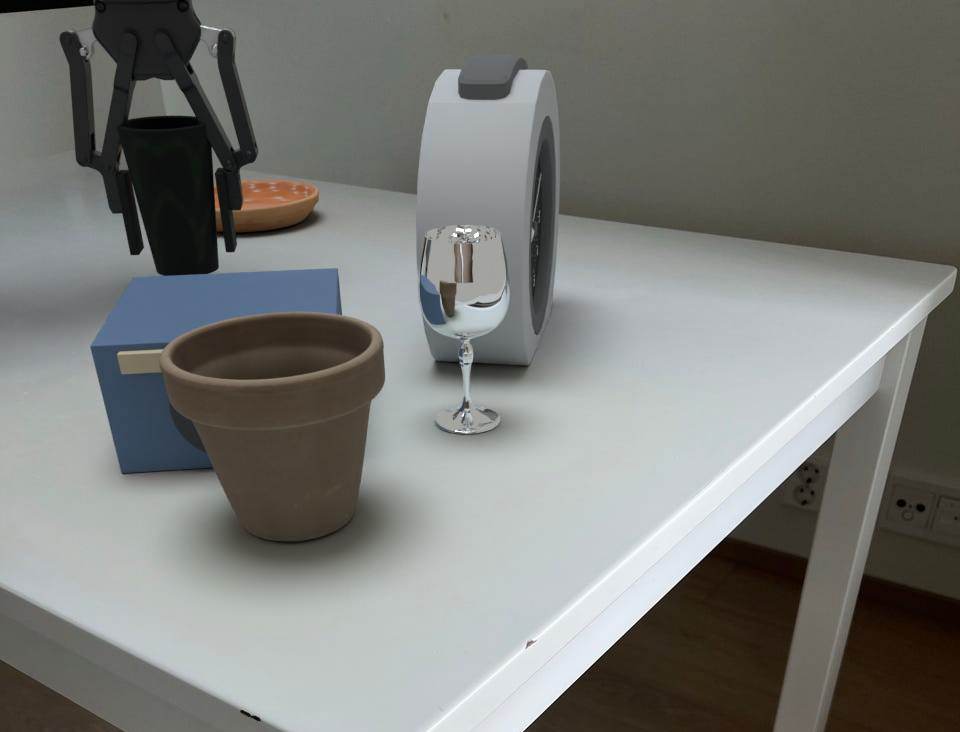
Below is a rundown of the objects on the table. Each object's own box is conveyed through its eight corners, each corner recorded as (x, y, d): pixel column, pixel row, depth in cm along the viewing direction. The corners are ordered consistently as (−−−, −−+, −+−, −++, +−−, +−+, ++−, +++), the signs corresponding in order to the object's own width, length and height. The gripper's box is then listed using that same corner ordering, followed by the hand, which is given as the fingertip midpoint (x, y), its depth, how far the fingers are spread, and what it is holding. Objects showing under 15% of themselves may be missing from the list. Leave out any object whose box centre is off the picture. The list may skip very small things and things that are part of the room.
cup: (224, 279, 88) (202, 129, 81) (136, 281, 88) (106, 130, 81) (235, 256, 94) (215, 114, 88) (153, 258, 94) (127, 115, 87)
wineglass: (446, 399, 70) (439, 219, 63) (522, 410, 69) (524, 226, 62) (410, 430, 66) (399, 241, 59) (491, 443, 64) (488, 249, 57)
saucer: (156, 221, 116) (150, 193, 114) (273, 199, 125) (269, 173, 123) (227, 245, 106) (222, 216, 104) (348, 220, 115) (346, 192, 113)
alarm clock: (521, 385, 72) (524, 73, 61) (421, 380, 74) (406, 72, 62) (556, 297, 89) (564, 40, 78) (475, 294, 91) (470, 40, 79)
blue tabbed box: (119, 477, 61) (87, 348, 57) (156, 389, 73) (132, 277, 68) (348, 463, 62) (336, 336, 58) (348, 378, 74) (337, 267, 69)
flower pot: (194, 483, 60) (160, 316, 55) (380, 461, 62) (366, 298, 57) (193, 581, 51) (153, 393, 45) (412, 552, 53) (400, 368, 47)
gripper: (-20, -58, 73) (58, 264, 86) (264, -58, 75) (297, 257, 88) (8, -59, 79) (76, 242, 92) (270, -60, 81) (300, 236, 94)
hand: (184, 249), depth 90 cm, fingers closed on cup, 8 cm apart
